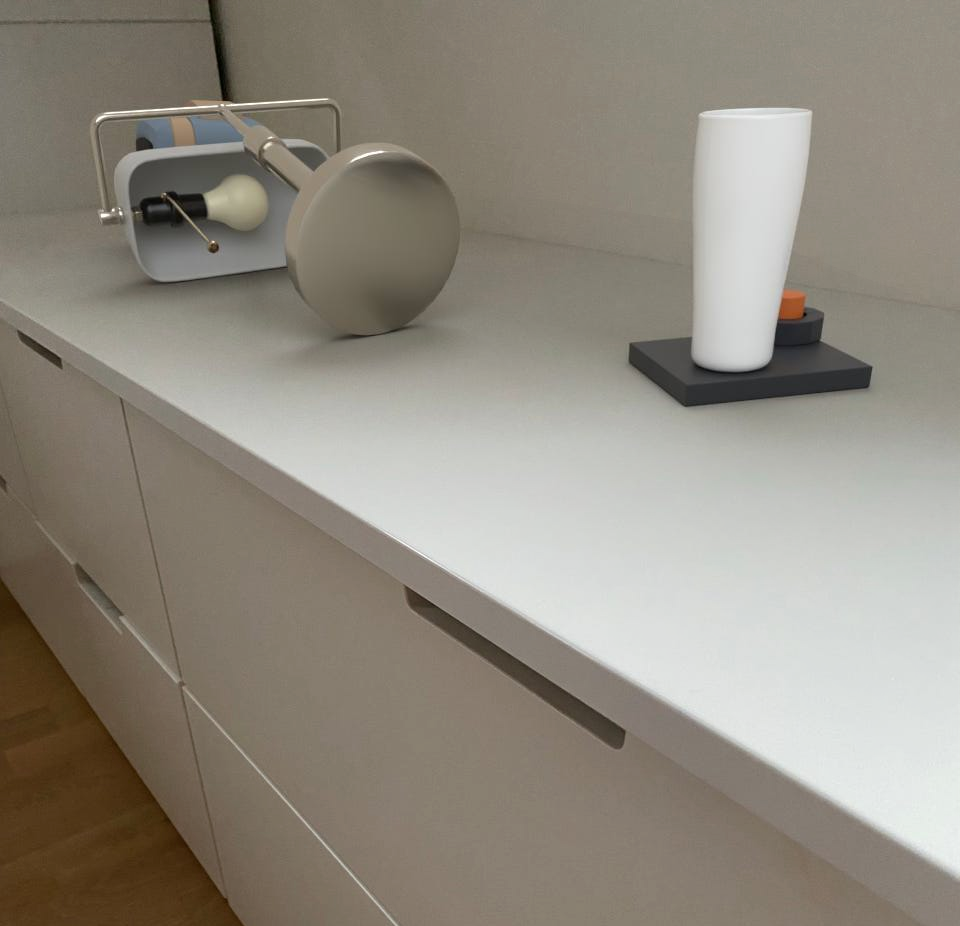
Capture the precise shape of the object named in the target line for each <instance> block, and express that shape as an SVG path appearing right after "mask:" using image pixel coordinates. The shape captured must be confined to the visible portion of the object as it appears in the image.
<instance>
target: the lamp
mask: <svg viewBox="0 0 960 926" xmlns="http://www.w3.org/2000/svg"><path fill="white" fill-rule="evenodd" d="M312 109H330V110H331V112H332V147H333V148H332V154H333V155H332V156H329V154H327V152H326V150H324V149H322V147H320V146H318V145H317V144H315V143H312V142H311V141H308V140H304V139H300V138H299V139H298V138H280V137H279V136H278V135H277V134H275V133H274V132H273V131H272V130H271V129H269V128H268V127H267V126H265V125H264V124H262V125H255V126H252V127H250V128H249V127H248V126H247V125H246V124H245V123H244V122H242V121H241V120H240V119H239V118H238V117H237V116H235V115H234V114H242V115H243V114H256V113H270V112H271V113H272V112H284V111H300V110H312ZM213 115H217V116H218V117H220V118H223V119H224V120H225V121H226V122H228V123H229V124H230V125H231V126H232V127H233V128H234V129H236V130H237V131H238V132H239V133H240V134H241V135H242V136H243V137H244V138H243V142H231V143H219V144H206V145H194V146H181V147H170V148H160V149H149V150H143V151H137V152H136V151H133V152H129V153H128V154H126V155H125V156H123V157H122V158H121V159H120V160H119V161H118V163H117V165H116V167H115V169H114V173H113V174H114V175H113V187H114V188H113V189H114V194H115V198H116V204H117V206H116V207H113V204H112V197H111V191H110V186H109V185H110V184H109V179H108V173H107V172H108V171H107V165H106V160H105V154H104V147H103V141H102V135H101V129H102V126H103V125H104V124H111V123H124V122H139V121H141V120H155V119H170V118H184V117H199V116H213ZM263 125H264V126H263ZM342 128H343V127H342V109H341V107H340V104H339V103H338V102H337V101H336V100H334V99H332V98H328V97H321V98H320V97H318V98H306V99H305V98H304V99H303V98H302V99H288V100H286V99H285V100H273V101H259V102H258V101H257V102H244V103H243V102H241V103H235V104H218V105H208V106H192V107H184V106H179V107H165V108H164V107H163V108H148V109H147V108H146V109H133V110H132V109H131V110H130V109H129V110H116V111H103V112H101V113H98V114H96V115H94V117H93V118H92V120H91V122H90V125H89V134H90V140H91V145H92V151H93V158H94V163H95V171H96V175H97V181H98V187H99V188H98V189H99V194H100V200H101V205H102V208H100V209H97V218H98V221H99V224H100V225H101V227H106V226H107V227H108V226H115V225H116V226H117V225H120V226H122V229H123V233H124V235H125V237H126V241H127V243H128V245H129V248H130V250H131V252H132V254H133V256H134V259H135V261H136V262H137V264H138V265H139V268H140V269H141V271H142V272H143V273H144V274H145V275H146V276H147V277H148V278H150V279H152V280H153V281H156V282H159V283H177V282H185V281H193V280H202V279H209V278H211V279H212V278H216V277H223V276H231V275H238V274H245V273H252V272H260V271H267V270H273V269H281V268H287V272H288V275H289V279H290V280H291V282H292V284H293V286H294V289H295V291H296V292H297V293H298V295H299V297H300V298H301V300H302V301H303V302H304V303H305V304H306V305H307V306H308V307H309V308H310V309H311V310H312V311H313V312H314V313H315V314H316V315H317V316H318V317H319V318H320V320H322V321H323V322H325V323H326V324H328V325H329V326H330V327H332V328H334V329H337V330H339V331H340V332H344V333H348V334H351V335H356V336H357V335H358V336H372V335H373V336H374V335H375V336H376V335H380V334H381V335H382V334H384V333H388V332H389V333H390V332H392V331H394V330H397V329H399V328H401V327H404V326H406V325H407V324H409V323H410V322H412V321H413V320H415V319H416V318H417V317H419V316H420V315H421V314H422V313H424V312H425V311H426V310H427V308H429V306H430V305H432V303H434V301H435V300H436V299H437V297H439V295H440V293H441V292H442V291H443V289H444V288H445V285H446V283H447V282H448V280H449V278H450V276H451V273H452V271H453V269H454V266H455V263H456V260H457V256H458V252H459V246H460V240H461V222H460V213H459V209H458V206H457V205H458V204H457V202H456V198H455V196H454V194H453V192H452V190H451V188H450V185H449V183H448V182H447V181H446V180H445V178H444V177H443V175H442V174H441V173H440V172H439V171H438V170H437V169H436V168H435V167H434V166H433V165H431V164H430V163H429V162H427V161H426V160H424V159H423V158H422V157H420V156H419V155H417V154H416V153H414V152H413V151H411V150H409V149H408V148H405V147H403V146H400V145H398V144H394V143H390V142H389V143H388V142H365V143H360V144H355V145H353V146H350V147H346V148H344V149H343V147H342V143H343V142H342V137H343V136H342V135H343V134H342V132H343V131H342Z"/></svg>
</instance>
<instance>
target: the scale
mask: <svg viewBox="0 0 960 926" xmlns="http://www.w3.org/2000/svg"><path fill="white" fill-rule="evenodd" d="M824 321H825V312H823V311H822V310H819V309H817V308H815V307H809V306H804V311H803V317H802V318H797V319H778V321H777V326H776V332H775V340H774V349H773V355H772V358H771V360H770V362H769V363H768V364H767V365H766V366H764V367H762V368H760V369H757V370H753V371H747V372H719V371H713V370H709V369H705V368H702V367H700V366H698V365H697V364H696V363H695V362H694V361H693V359H692V357H691V343H692V336H686V337H675V338H674V337H673V338H665V339H664V338H663V339H653V340H643V341H631V342H629V344H628V362H629V363H630V364H631V365H632V366H634V367H635V368H636V369H637V370H639V371H640V372H641V373H643V374H644V375H645V376H646V377H648V378H649V379H650V380H651V381H652V382H654V383H655V384H656V385H658V386H659V387H660V388H661V389H662V390H664V391H665V392H667V393H668V394H669V395H670V396H672V397H673V398H674V399H675V400H677V402H679V403H680V404H682V405H683V406H685V407H691V406H699V405H700V406H702V405H711V404H719V403H721V404H722V403H730V402H731V403H732V402H739V401H740V402H741V401H750V400H758V399H770V398H777V397H787V396H796V395H806V394H816V393H824V392H825V393H826V392H835V391H845V390H854V389H862V388H863V389H864V388H869V387H870V386H871V379H872V373H873V367H874V366H873V365H871V364H869V363H867V362H864V361H863V360H860V359H858V358H856V357H855V356H852V355H850V354H848V353H846V352H844V351H842V350H840V349H838V348H836V347H834V346H832V345H830V344H829V343H826V342H824V341H822V334H823V327H824Z"/></svg>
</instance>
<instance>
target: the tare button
mask: <svg viewBox="0 0 960 926" xmlns="http://www.w3.org/2000/svg"><path fill="white" fill-rule="evenodd" d="M806 295H807V294H806V293H805V292H803V291H799V290H792V289H784V291H783V296H782V301H781V306H780V311H779V316H778V319H797V318H802V317H803V311H804V307H805V304H806V303H805V302H806Z"/></svg>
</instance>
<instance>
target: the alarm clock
mask: <svg viewBox="0 0 960 926" xmlns="http://www.w3.org/2000/svg"><path fill="white" fill-rule="evenodd" d="M218 104H236V103H235V102H232V101H227V100H205V99H203V100H201V99H192V100H189V101H187V102H185V104H184V105H183V107H192V106H208V105H218ZM234 115H235V116H237V117H238V118H239V119H240V120H241V121H242V122H244V123H245V124H246V125H247V126H248V127H249V128H250V127H252V126H255V125H263V126H265V125H264V124H262V123H261V122H259V121H257V120H255V119H252V118H250V117H247V116H244V115H243V114H234ZM243 138H244V137H243V136H242V135H241V134H240V133H239V132H238V131H237V130H236V129H234V128H233V127H232V126H231V125H230V124H229V123H228V122H226V121H225V120H224V119H223V118H220V117H218V116H217V115H213V116H199V117H184V118H170V119H155V120H141V121H137V123H136V132H135V150H136V151H135V152H137V151H143V150H149V149H160V148H170V147H181V146H194V145H206V144H219V143H231V142H243Z"/></svg>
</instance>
